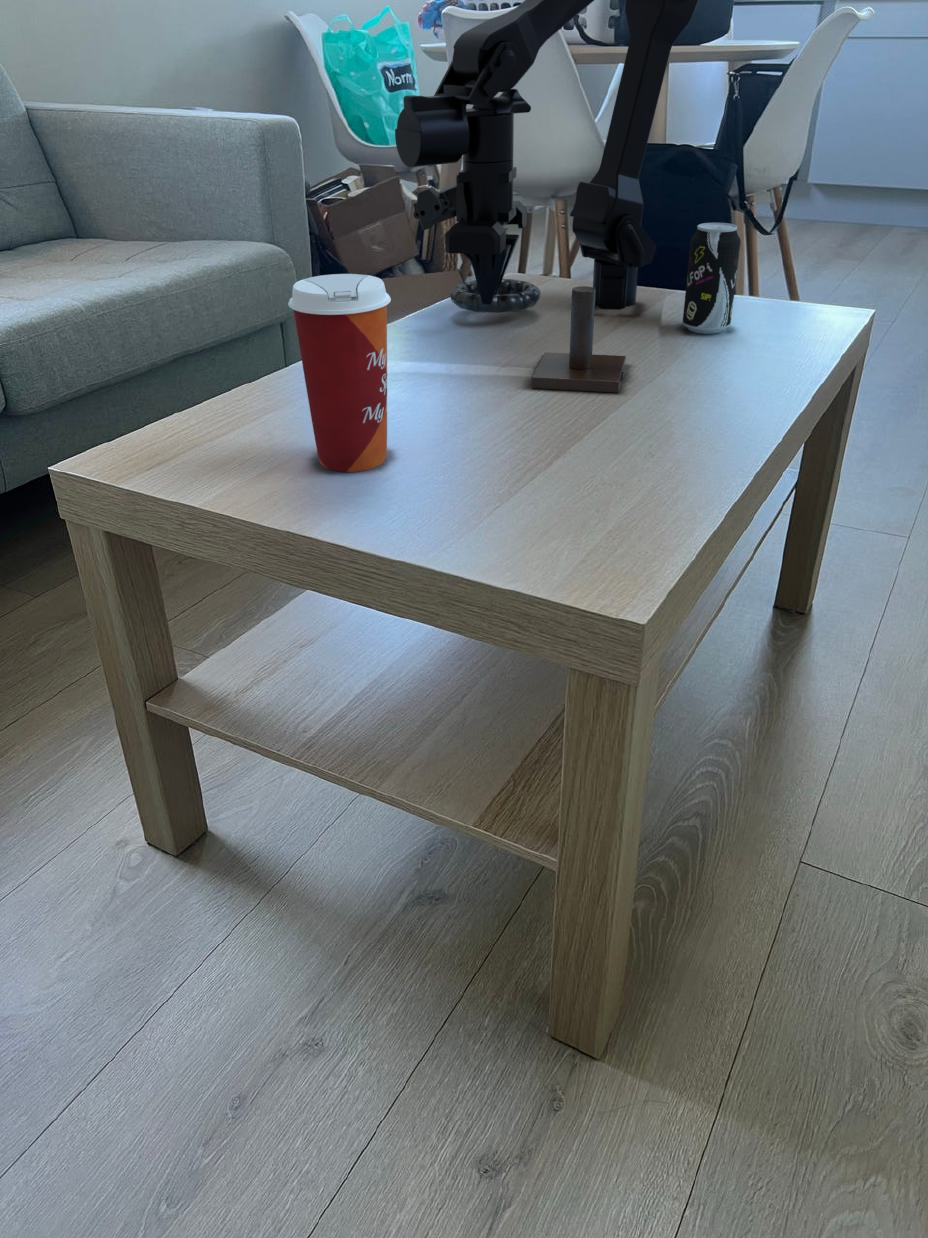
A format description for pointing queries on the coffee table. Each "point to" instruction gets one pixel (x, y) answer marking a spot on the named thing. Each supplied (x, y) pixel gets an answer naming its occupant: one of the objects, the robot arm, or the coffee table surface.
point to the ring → (497, 296)
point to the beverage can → (711, 278)
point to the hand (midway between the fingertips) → (488, 301)
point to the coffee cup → (345, 366)
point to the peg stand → (580, 355)
